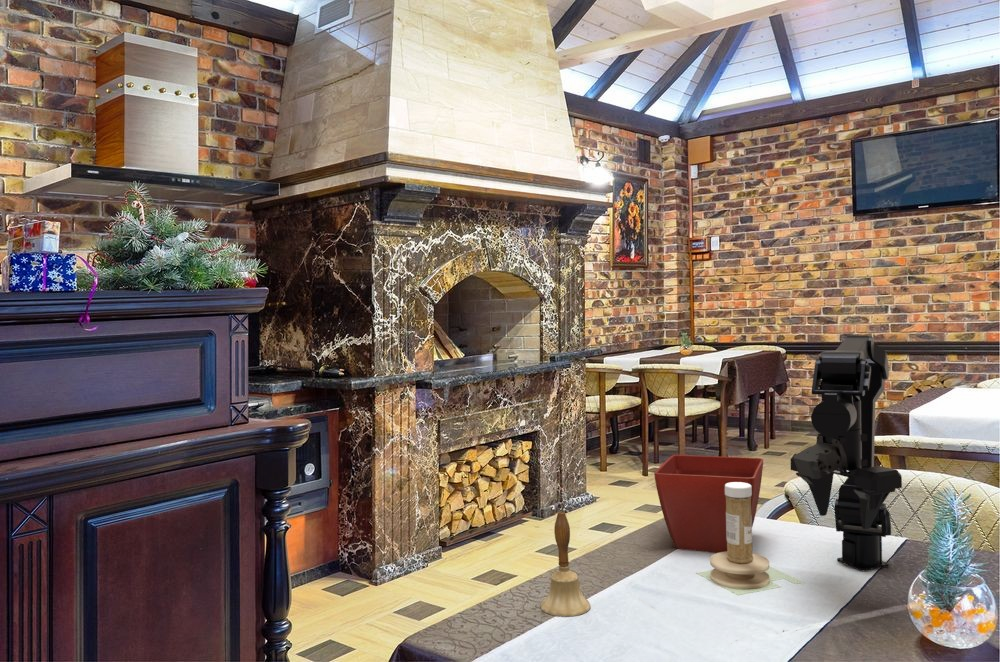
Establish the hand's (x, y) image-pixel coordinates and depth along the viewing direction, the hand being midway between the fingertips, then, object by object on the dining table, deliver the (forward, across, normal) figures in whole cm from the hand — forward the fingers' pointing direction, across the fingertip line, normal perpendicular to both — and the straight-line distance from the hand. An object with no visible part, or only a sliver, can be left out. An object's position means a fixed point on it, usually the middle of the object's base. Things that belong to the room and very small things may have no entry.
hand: (843, 522), depth 129 cm
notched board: (+13, -13, -9) cm, 20 cm away
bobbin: (+12, -13, -11) cm, 21 cm away
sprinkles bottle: (+9, -13, -11) cm, 19 cm away
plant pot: (+13, -33, -2) cm, 36 cm away
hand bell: (+13, -17, -43) cm, 48 cm away
